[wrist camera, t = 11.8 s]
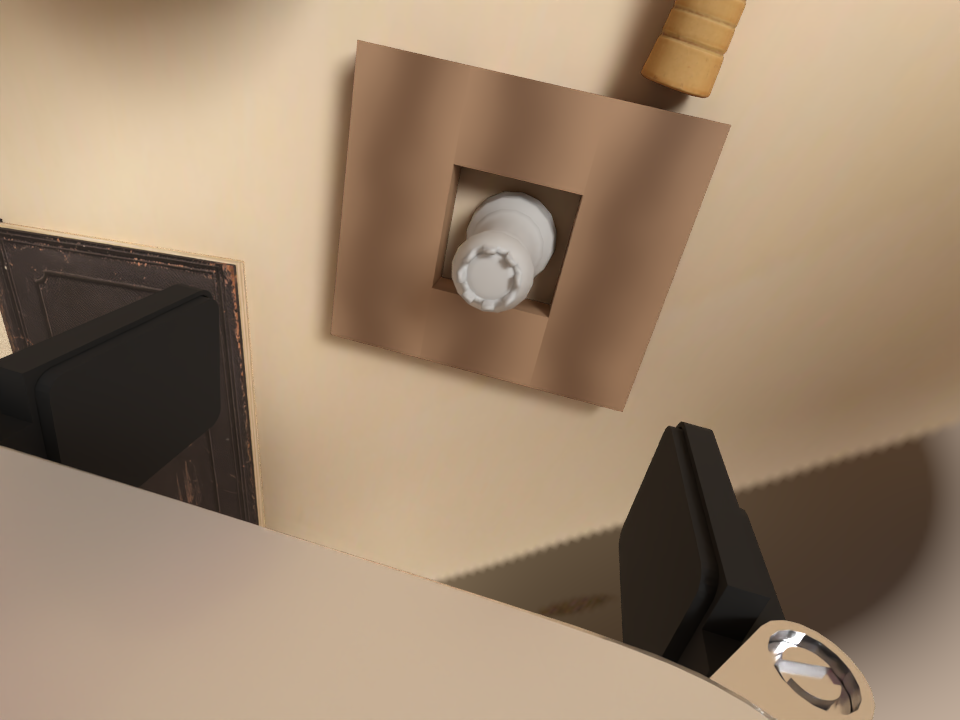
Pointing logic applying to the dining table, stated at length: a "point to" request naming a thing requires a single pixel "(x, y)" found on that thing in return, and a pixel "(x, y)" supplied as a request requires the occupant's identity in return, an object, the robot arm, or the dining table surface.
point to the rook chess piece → (503, 251)
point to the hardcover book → (121, 281)
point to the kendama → (693, 45)
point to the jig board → (528, 157)
